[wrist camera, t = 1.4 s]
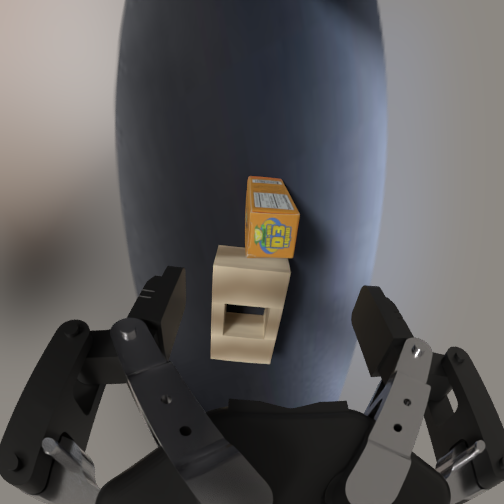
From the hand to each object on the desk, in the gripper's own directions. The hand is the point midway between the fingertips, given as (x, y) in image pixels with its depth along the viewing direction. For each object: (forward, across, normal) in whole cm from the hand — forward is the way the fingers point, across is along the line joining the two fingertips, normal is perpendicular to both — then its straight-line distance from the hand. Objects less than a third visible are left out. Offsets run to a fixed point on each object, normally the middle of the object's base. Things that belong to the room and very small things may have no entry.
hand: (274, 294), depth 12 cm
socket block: (+16, 0, +12) cm, 20 cm away
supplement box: (+16, 0, 0) cm, 16 cm away
